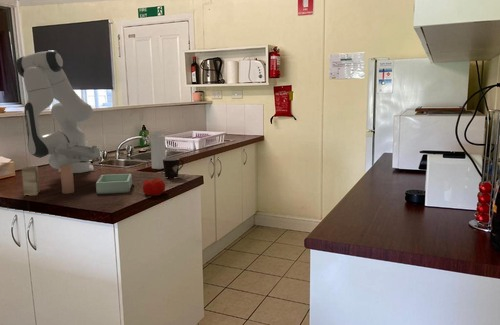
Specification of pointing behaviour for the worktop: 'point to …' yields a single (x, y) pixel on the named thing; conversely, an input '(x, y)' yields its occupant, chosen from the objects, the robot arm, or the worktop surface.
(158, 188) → the tomato
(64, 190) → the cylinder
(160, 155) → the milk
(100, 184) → the tote
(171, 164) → the coffee mug
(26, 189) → the block
